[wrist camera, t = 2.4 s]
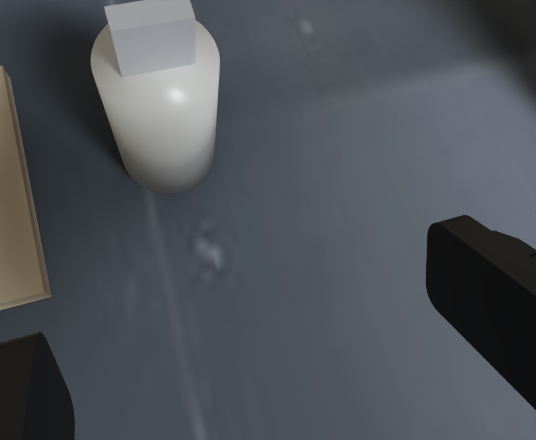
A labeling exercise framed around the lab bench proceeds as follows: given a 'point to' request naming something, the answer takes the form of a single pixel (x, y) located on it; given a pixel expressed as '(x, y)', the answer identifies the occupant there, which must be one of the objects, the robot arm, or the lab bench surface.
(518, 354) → the robot arm
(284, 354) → the lab bench surface
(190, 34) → the white bottle
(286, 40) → the lab bench surface
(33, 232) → the board
